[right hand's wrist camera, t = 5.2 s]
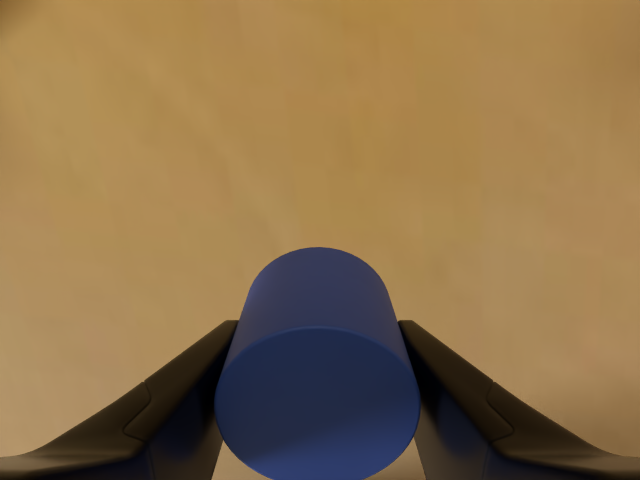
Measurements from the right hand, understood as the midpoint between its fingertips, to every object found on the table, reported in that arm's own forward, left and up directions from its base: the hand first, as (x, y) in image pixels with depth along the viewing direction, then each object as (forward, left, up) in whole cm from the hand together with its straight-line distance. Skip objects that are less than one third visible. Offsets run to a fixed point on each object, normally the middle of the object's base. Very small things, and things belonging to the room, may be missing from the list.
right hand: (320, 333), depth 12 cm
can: (0, 0, -1) cm, 1 cm away
